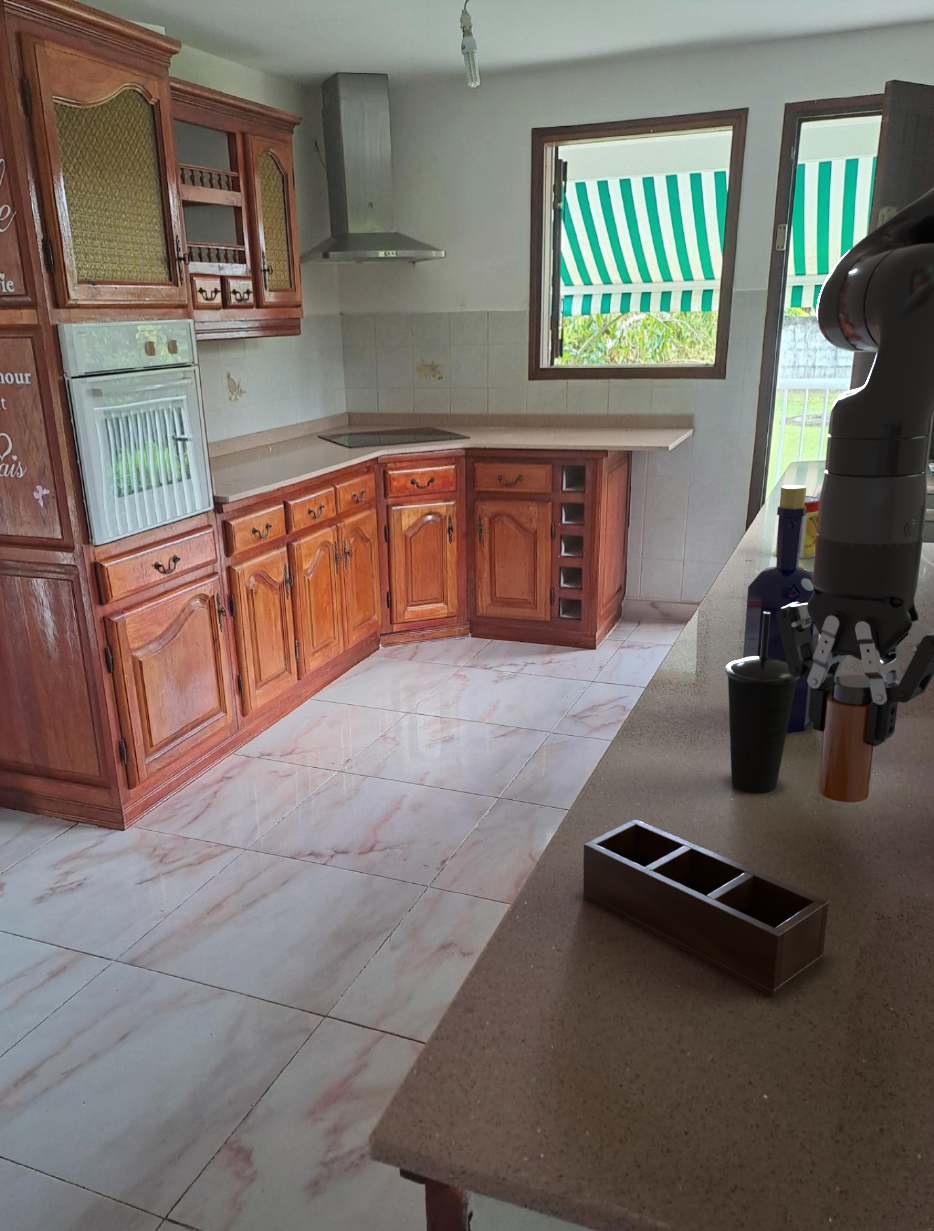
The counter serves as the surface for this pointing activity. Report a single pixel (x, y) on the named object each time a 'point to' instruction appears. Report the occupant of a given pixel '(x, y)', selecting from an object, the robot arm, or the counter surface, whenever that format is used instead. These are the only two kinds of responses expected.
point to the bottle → (783, 596)
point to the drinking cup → (758, 716)
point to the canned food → (808, 528)
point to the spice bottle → (846, 741)
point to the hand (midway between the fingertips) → (848, 734)
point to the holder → (707, 905)
